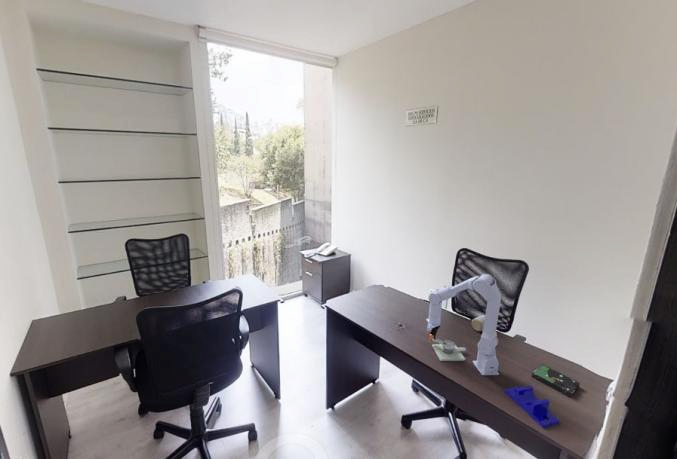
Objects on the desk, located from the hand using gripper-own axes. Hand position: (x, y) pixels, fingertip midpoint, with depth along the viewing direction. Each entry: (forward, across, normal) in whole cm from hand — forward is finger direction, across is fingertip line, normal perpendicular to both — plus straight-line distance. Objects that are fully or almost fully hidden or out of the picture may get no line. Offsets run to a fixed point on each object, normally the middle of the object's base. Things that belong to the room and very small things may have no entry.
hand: (432, 337), depth 159 cm
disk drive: (+5, -6, +53) cm, 53 cm away
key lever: (+1, +2, +5) cm, 6 cm away
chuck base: (+4, +2, +10) cm, 11 cm away
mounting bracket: (+5, +17, +46) cm, 49 cm away
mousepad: (+4, -6, -17) cm, 19 cm away
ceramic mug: (+4, -30, +18) cm, 36 cm away
